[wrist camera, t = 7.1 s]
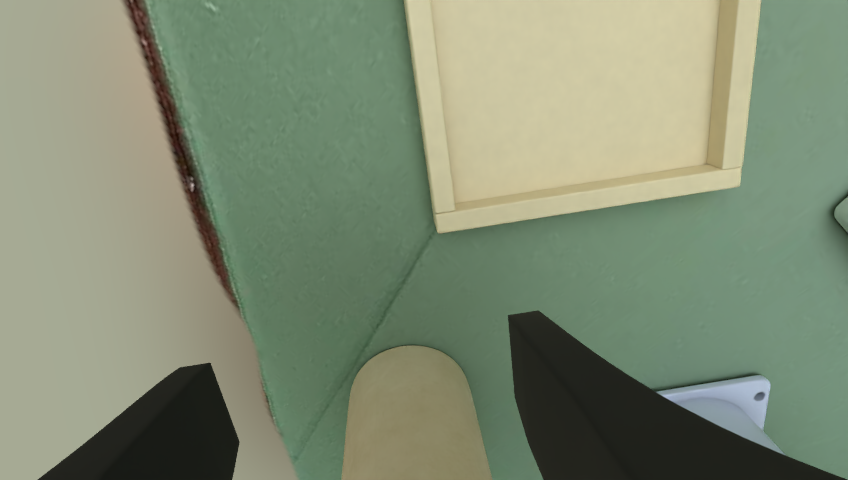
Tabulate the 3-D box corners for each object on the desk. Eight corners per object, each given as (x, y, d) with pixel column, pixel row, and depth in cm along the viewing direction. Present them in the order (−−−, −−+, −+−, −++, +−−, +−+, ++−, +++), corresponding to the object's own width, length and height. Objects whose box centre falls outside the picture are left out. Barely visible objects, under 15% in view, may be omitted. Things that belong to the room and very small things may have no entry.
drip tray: (718, 177, 20) (740, 187, 19) (434, 221, 20) (437, 234, 19) (751, -178, 16) (784, -197, 14) (385, -125, 15) (386, -140, 14)
